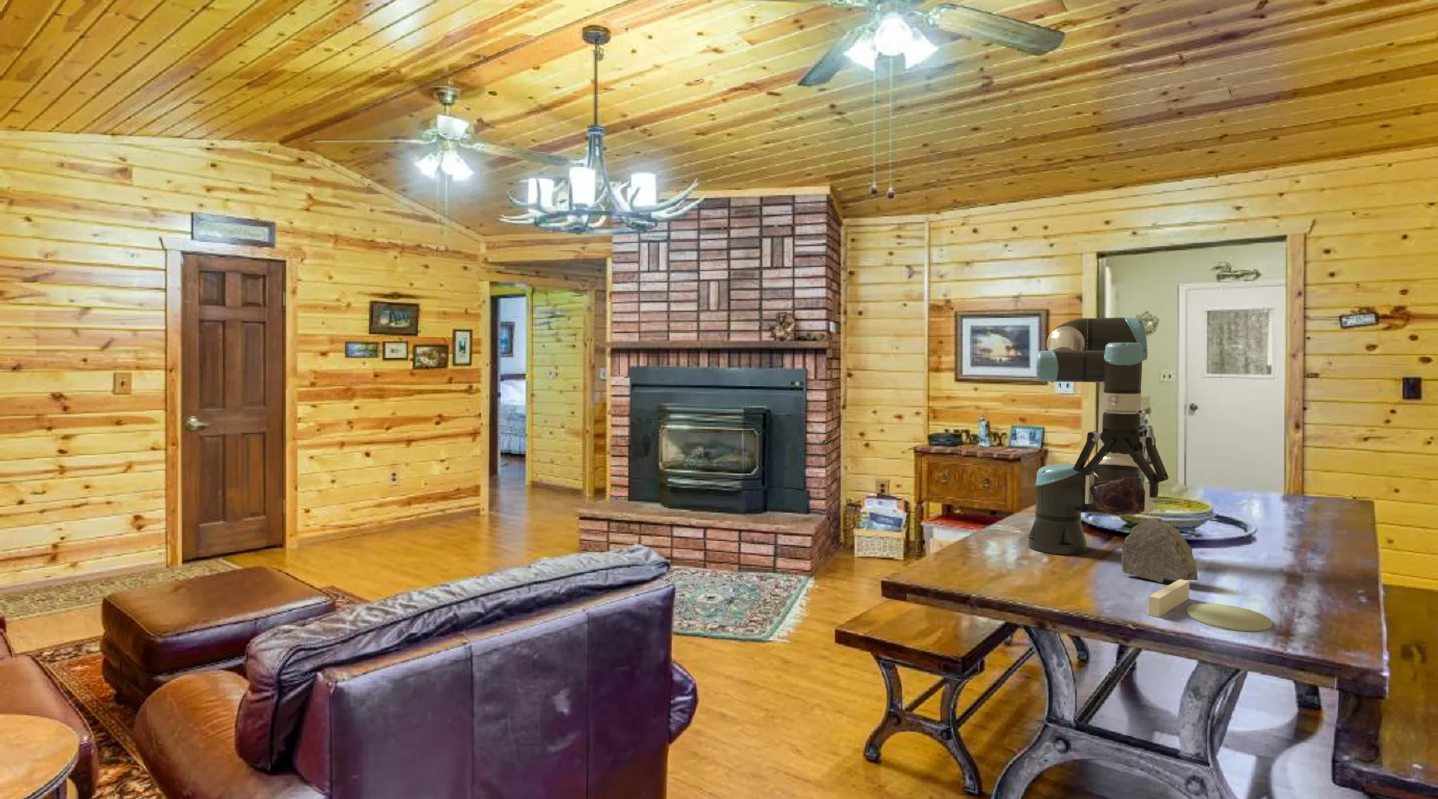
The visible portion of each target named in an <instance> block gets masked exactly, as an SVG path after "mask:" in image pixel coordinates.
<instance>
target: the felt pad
mask: <svg viewBox="0 0 1438 799" xmlns="http://www.w3.org/2000/svg"><path fill="white" fill-rule="evenodd" d="M1186 614H1187V616H1188V617H1190V618H1191V619H1193V620H1195V621H1196V622H1199V623H1201V624H1205V625H1208V626H1211V627H1215V628H1218V629H1224V630H1229V631H1230V630H1231V631H1238V632H1264V631H1267V630H1269V629H1271V628H1272V627H1273V621H1272V619H1271V618H1270V617H1268V616H1266V615H1265V614H1263V613H1260V612H1258V611H1254V610H1251V609H1249V608H1243V607H1240V606H1234V605H1229V604H1220V603H1197V604H1196V603H1195V604H1192V605H1189V606H1188V607H1187V608H1186Z"/></svg>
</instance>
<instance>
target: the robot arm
mask: <svg viewBox="0 0 1438 799" xmlns="http://www.w3.org/2000/svg"><path fill="white" fill-rule="evenodd" d="M1046 348H1047V350H1039V351H1038V352H1037V354H1036V367H1035V368H1036V369H1035V371H1036V379H1037V380H1038V381H1040V382H1049V383H1058V382H1059V383H1099V392H1098V394H1099V398H1098V400H1099V401H1098V426H1097V429H1098V430H1097V431H1088V433H1087V435H1086V442H1085V443H1084V447H1083V448H1082V449H1081V452H1080V454H1079V456H1078V458H1077V460H1076V462H1075V463H1057V464H1056V463H1055V464H1050V465H1049V464H1048V465H1045V466H1042V467H1040V468H1039V469H1038V470H1037V472H1036V482H1035V489H1036V490H1035V518H1034V521H1033V523H1032V525H1031V529H1030V532H1029V534H1028V537H1027V547H1028V548H1030V549H1032V550H1035V551H1039V552H1042V553H1045V554H1046V553H1048V554H1053V555H1054V554H1055V555H1080V554H1084V553H1086V552H1087V551H1088V550H1087V549H1088V541H1087V539H1086V535H1085V532H1084V530H1083V525H1082V523H1081V520H1082V519H1081V518H1082V517H1081V515H1082V513H1083V514H1095V515H1107V516H1117V515H1116V514H1114V515H1113V514H1108V513H1107V512H1105V511H1102V510H1098V509H1097V507H1096V504H1095V501H1094V498H1093V495H1092V492H1091V490H1090V488H1091V487H1092V486H1093V485H1094V484H1096V483H1098V482H1101V481H1109V480H1118V479H1119V478H1122V477H1125V478H1128V477H1138V478H1140V479H1141V482H1142V484H1143V487H1144V489H1145V510H1144V512H1143V513H1145V514H1148V513H1152V512H1153V511H1154V499H1156V498H1157V497H1158V496H1159V483H1161V482H1165V481H1167V480H1169V475H1168V472H1167V470H1166V468H1165V466H1164V465H1165V464H1164V463H1163V461H1162V459H1161V456H1160V454H1159V451H1158V449H1157V446H1156V445H1157V444H1156V441H1157V440H1156V437H1155V436H1153V435H1151V436H1141V433H1140V431H1141V414H1140V413H1139V412H1140V411H1141V407H1142V406H1141V405H1142V404H1141V403H1142V377H1143V376H1142V375H1143V362H1144V361H1146V360H1148V341H1147V333H1146V328H1145V324H1144V322H1143V320H1141V319H1140V318H1138V317H1125V316H1122V317H1094V318H1093V317H1082V318H1076V319H1071V320H1068V321H1065V322H1064V323H1061V324H1060V325H1057V326H1056V327H1054V329H1052V330H1051V332H1050V333H1049V335H1048V337H1047V340H1046ZM1096 444H1097V453H1096V454H1095V455H1094V456H1093V457H1092V459H1091V460H1089V458H1090V456H1091V453H1092V452H1093V450H1094V448H1095V446H1096ZM1140 444H1142V445H1143V447H1145V449H1146V454H1147V455H1148V457H1149V460H1150V462H1151V465H1152V466H1151V465H1150V464H1149V462H1148V461H1147V460H1146V458H1145V456H1144V455H1143V454H1142V451H1141V450H1140V449H1139V447H1138V446H1139V445H1140ZM1088 460H1089V462H1087V461H1088ZM1152 467H1153V468H1152ZM1140 470H1141V472H1140ZM1145 478H1146V479H1147V480H1148V482H1145ZM1136 515H1137V514H1128V515H1118V516H1117V517H1120V516H1121V517H1133V516H1136Z"/></svg>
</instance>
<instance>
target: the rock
mask: <svg viewBox="0 0 1438 799" xmlns="http://www.w3.org/2000/svg"><path fill="white" fill-rule="evenodd" d="M1090 490H1091V492H1092V495H1093V498H1094V501H1095V504H1096V507H1097V509H1098V510H1102V511H1105V512H1107V513H1108V514H1113V515H1112V516H1117V517H1119V516H1118V515H1128V514H1136V515H1139V514H1142V513H1144V510H1145V486H1144V487H1143V484H1142V482H1141V479H1140V478H1138V477H1128V478H1125V477H1122V478H1119V479H1118V480H1109V481H1101V482H1098V483H1096V484H1094V485H1093V486H1092V487H1091V488H1090ZM1114 514H1116V515H1114Z"/></svg>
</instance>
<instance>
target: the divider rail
mask: <svg viewBox="0 0 1438 799" xmlns="http://www.w3.org/2000/svg"><path fill="white" fill-rule="evenodd" d="M1190 582H1191V580H1182V579H1179V580H1178V579H1176V580H1175V581H1174V582H1172V583H1171V584H1168V585H1166V586H1165V587H1163V588H1161V589H1160V590H1158V591H1156V592H1154V593H1152V594H1151V595H1149V596H1148V612H1147V613H1148V616H1151V617H1156V618H1160V617H1161V616H1163V615H1164V614H1166V613H1167V612H1170V611H1172V610H1173V609H1174V608H1176V607H1178V606H1179V605H1181V604H1182V603H1184V602H1186V601H1187V600H1189V599H1190Z"/></svg>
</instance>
